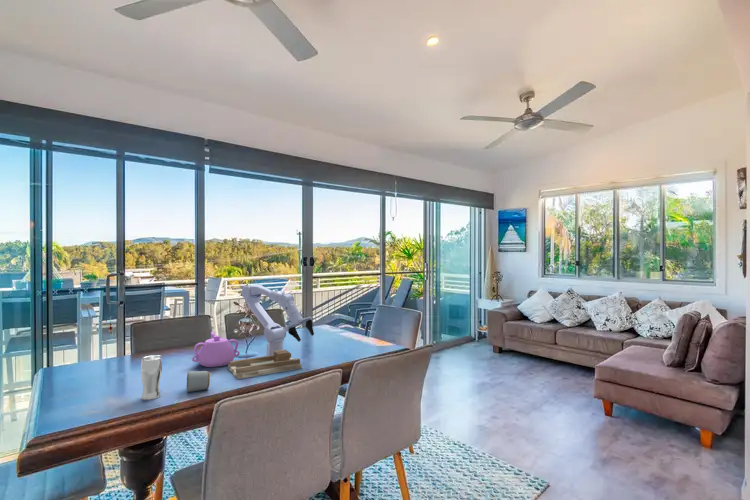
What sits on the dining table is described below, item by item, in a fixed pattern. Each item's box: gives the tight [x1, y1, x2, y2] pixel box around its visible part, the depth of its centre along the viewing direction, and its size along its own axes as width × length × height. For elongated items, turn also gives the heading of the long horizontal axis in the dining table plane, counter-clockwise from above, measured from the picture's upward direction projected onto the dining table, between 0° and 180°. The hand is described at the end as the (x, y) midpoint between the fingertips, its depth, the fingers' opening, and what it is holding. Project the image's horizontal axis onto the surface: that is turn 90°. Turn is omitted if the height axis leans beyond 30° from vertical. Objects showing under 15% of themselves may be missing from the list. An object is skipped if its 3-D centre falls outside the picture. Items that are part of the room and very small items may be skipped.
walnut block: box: [273, 349, 291, 362], centre depth 186 cm, size 6×6×5 cm
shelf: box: [227, 352, 303, 380], centre depth 181 cm, size 17×30×4 cm, turn 124°
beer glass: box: [140, 354, 163, 401], centre depth 144 cm, size 7×7×15 cm
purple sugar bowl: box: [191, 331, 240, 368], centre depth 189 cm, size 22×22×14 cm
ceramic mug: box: [186, 370, 211, 393], centre depth 154 cm, size 11×8×8 cm
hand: (306, 337), depth 188 cm, fingers open, 7 cm apart
